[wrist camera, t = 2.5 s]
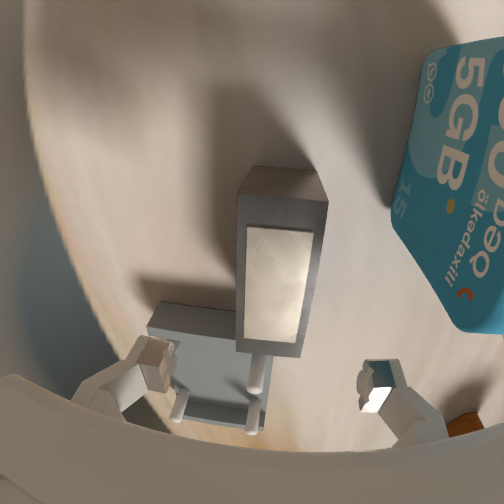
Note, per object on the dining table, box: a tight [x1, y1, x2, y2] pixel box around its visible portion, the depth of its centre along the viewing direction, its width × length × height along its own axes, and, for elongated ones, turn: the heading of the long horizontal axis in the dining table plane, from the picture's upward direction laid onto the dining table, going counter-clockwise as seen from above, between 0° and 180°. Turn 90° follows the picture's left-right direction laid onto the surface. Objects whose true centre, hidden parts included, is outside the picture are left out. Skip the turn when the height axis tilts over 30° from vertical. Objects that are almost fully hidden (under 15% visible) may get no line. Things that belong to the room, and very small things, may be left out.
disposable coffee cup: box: [446, 412, 485, 438], centre depth 26 cm, size 10×10×12 cm
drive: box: [236, 166, 329, 358], centre depth 18 cm, size 10×4×6 cm, turn 178°
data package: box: [391, 37, 504, 334], centre depth 10 cm, size 12×4×12 cm, turn 172°
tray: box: [146, 302, 273, 435], centre depth 25 cm, size 15×10×5 cm
